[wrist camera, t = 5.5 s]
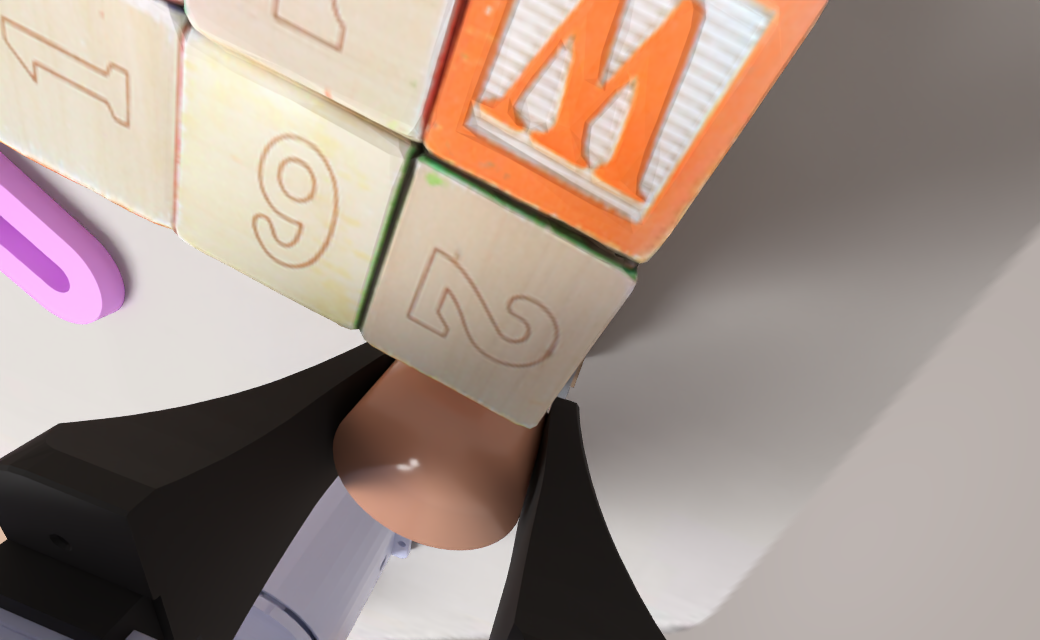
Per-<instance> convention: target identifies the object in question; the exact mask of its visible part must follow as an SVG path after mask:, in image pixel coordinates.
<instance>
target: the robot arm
mask: <svg viewBox="0 0 1040 640" xmlns="http://www.w3.org/2000/svg"><path fill="white" fill-rule="evenodd" d="M395 360H396V359H394V358H392V357H391V356H389V355H387V354H385V353H383V352H382V351H380V350H378V349H376V348H375V347H373V346H371V345H370V344H369V343H368V342H366V343H364V344H362V345H360V346H358V347H356V348H354V349H351V350H349V351H347V352H345V353H343V354H340V355H338V356H336V357H334V358H331V359H329V360H327V361H325V362H322V363H320V364H318V365H315V366H313V367H311V368H308V369H305V370H303V371H300V372H298V373H295V374H293V375H290V376H287V377H285V378H282V379H280V380H277V381H274V382H271V383H268V384H265V385H262V386H259V387H256V388H253V389H249V390H246V391H243V392H239V393H236V394H232V395H229V396H225V397H220V398H216V399H212V400H208V401H204V402H199V403H195V404H191V405H187V406H182V407H177V408H171V409H166V410H161V411H155V412H149V413H142V414H136V415H129V416H122V417H114V418H106V419H97V420H88V421H79V422H70V423H59V424H57V425H56V426H54V427H52V428H51V429H49V430H47V431H46V432H44V433H42V434H41V435H39V436H37V437H36V438H34V439H32V440H31V441H29V442H27V443H25V444H24V445H22V446H20V447H19V448H17V449H15V450H14V451H12V452H10V453H9V454H7V455H5V456H4V457H2V458H0V527H1V528H2V530H3V532H4V534H5V536H6V537H7V540H6V541H4V542H3V543H2V544H0V640H346V639H347V637H348V635H349V633H350V631H351V629H352V628H353V626H354V624H355V622H356V620H357V618H358V616H359V614H360V612H361V611H362V609H363V607H364V605H365V603H366V601H367V599H368V597H369V595H370V594H371V592H372V590H373V588H374V586H375V584H376V582H377V580H378V578H379V577H380V575H381V573H382V571H383V569H384V567H385V565H386V563H387V562H388V560H389V558H390V556H391V554H392V555H394V556H397V557H399V558H406V557H407V556H408V555H409V553H410V549H411V543H412V540H409V539H407V538H405V537H403V536H401V535H399V534H397V533H395V532H393V531H391V530H390V529H388V528H386V527H385V526H383V525H382V524H380V523H379V522H378V521H376V520H375V519H374V518H372V517H371V516H370V515H369V514H368V513H366V512H365V511H364V510H363V509H362V508H361V507H360V506H359V505H358V504H357V503H356V501H355V500H354V499H353V498H352V496H351V495H350V494H349V492H348V491H347V489H346V488H345V486H344V485H343V483H342V481H341V479H340V477H339V475H338V472H337V470H336V467H335V462H334V458H333V441H334V437H335V433H336V431H337V429H338V427H339V425H340V423H341V422H342V421H343V419H344V418H345V417H346V416H347V415H348V413H349V412H350V411H351V410H352V409H353V408H354V407H355V405H356V404H357V403H358V402H359V401H360V400H361V399H362V397H363V396H364V395H365V394H366V393H367V392H368V391H369V389H370V388H371V387H372V386H373V385H374V384H375V383H376V381H377V380H378V379H379V378H380V377H381V376H382V375H383V373H384V372H385V371H386V370H387V369H388V368H389V367H390V365H391V364H392V363H393V362H394V361H395ZM489 640H666V639H665V637H664V635H663V634H662V632H661V631H660V629H659V628H658V626H657V625H656V623H655V621H654V620H653V618H652V616H651V615H650V613H649V611H648V609H647V607H646V606H645V604H644V602H643V600H642V599H641V597H640V595H639V593H638V592H637V590H636V588H635V586H634V584H633V582H632V580H631V578H630V576H629V574H628V572H627V570H626V568H625V566H624V564H623V562H622V560H621V558H620V556H619V553H618V551H617V549H616V547H615V544H614V542H613V540H612V537H611V535H610V533H609V530H608V528H607V525H606V522H605V520H604V517H603V514H602V512H601V509H600V506H599V503H598V500H597V497H596V494H595V490H594V487H593V484H592V480H591V476H590V473H589V469H588V464H587V460H586V455H585V451H584V446H583V440H582V434H581V427H580V416H579V406H578V405H577V403H575V402H572V401H569V400H566V399H563V398H560V397H556V398H555V400H554V401H553V402H552V405H551V408H550V411H549V414H548V417H547V421H546V424H545V428H544V431H543V435H542V438H541V442H540V446H539V450H538V454H537V458H536V462H535V465H534V469H533V472H532V476H531V479H530V482H529V486H528V489H527V493H526V496H525V500H524V503H523V507H522V510H521V514H520V517H519V522H518V527H517V532H516V537H515V542H514V548H513V553H512V558H511V563H510V567H509V571H508V575H507V579H506V583H505V586H504V590H503V593H502V597H501V600H500V604H499V607H498V611H497V614H496V618H495V621H494V625H493V628H492V631H491V635H490V638H489Z"/></svg>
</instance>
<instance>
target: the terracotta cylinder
mask: <svg viewBox="0 0 1040 640" xmlns="http://www.w3.org/2000/svg"><path fill="white" fill-rule="evenodd" d="M551 405H552V404H551ZM551 405H550V407H549V408H548V410H547V411H546V413H545V414H544V416H543V417H542V418H541V420H540V421H539V423H538V424H537V426H535V427H533V428H531V429H529V428H525V427H522V426H519V425H516V424H514V423H512V422H510V421H508V420H507V419H505V418H503V417H501V416H499V415H497V414H496V413H494V412H492V411H490V410H488V409H487V408H485V407H483V406H481V405H479V404H477V403H476V402H474V401H472V400H470V399H468V398H466V397H465V396H463V395H461V394H459V393H457V392H455V391H454V390H452V389H450V388H448V387H446V386H444V385H443V384H441V383H439V382H437V381H435V380H433V379H432V378H430V377H428V376H426V375H424V374H422V373H420V372H419V371H417V370H415V369H413V368H411V367H409V366H407V365H406V364H404V363H402V362H400V361H398V360H395V361H394V362H393V363H392V364H391V365H390V367H389V368H388V369H387V370H386V371H385V372H384V373H383V375H382V376H381V377H380V378H379V379H378V380H377V381H376V383H375V384H374V385H373V386H372V387H371V388H370V389H369V391H368V392H367V393H366V394H365V395H364V396H363V397H362V399H361V400H360V401H359V402H358V403H357V404H356V405H355V407H354V408H353V409H352V410H351V411H350V412H349V413H348V415H347V416H346V417H345V418H344V419H343V421H342V422H341V423H340V425H339V427H338V429H337V431H336V433H335V437H334V441H333V458H334V462H335V467H336V470H337V472H338V475H339V477H340V479H341V481H342V483H343V485H344V486H345V488H346V489H347V491H348V492H349V494H350V495H351V496H352V498H353V499H354V500H355V501H356V503H357V504H358V505H359V506H360V507H361V508H362V509H363V510H364V511H365V512H366V513H368V514H369V515H370V516H371V517H372V518H374V519H375V520H376V521H378V522H379V523H380V524H382V525H383V526H385V527H386V528H388V529H390V530H391V531H393V532H395V533H397V534H399V535H401V536H403V537H405V538H407V539H409V540H412V541H414V542H417V543H420V544H423V545H426V546H431V547H435V548H440V549H447V550H472V549H478V548H482V547H485V546H489V545H491V544H493V543H495V542H498V541H499V540H501V539H502V538H504V537H505V536H506V535H507V534H508V533H509V532H510V531H511V530H512V529H513V528H514V526H515V525H516V523H517V521H518V519H519V517H520V514H521V510H522V507H523V503H524V500H525V496H526V493H527V489H528V486H529V482H530V479H531V476H532V472H533V469H534V465H535V462H536V458H537V454H538V450H539V446H540V442H541V438H542V435H543V431H544V428H545V424H546V421H547V417H548V414H549V411H550V408H551Z"/></svg>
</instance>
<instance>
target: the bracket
mask: <svg viewBox="0 0 1040 640" xmlns="http://www.w3.org/2000/svg"><path fill="white" fill-rule="evenodd" d="M0 271H2V272H3V273H4V274H5V275H6V276H7V277H9V278H10V279H11V280H12V281H13V282H15V283H16V284H17V285H18V286H19V287H20V288H22V289H23V290H24V291H25V292H26V293H27V294H29V295H30V296H31V297H32V298H33V299H35V300H36V301H37V302H38V303H39V304H40V305H42V306H43V307H44V308H45V309H47V310H48V311H50V312H51V313H53V314H54V315H56V316H58V317H60V318H62V319H64V320H66V321H69V322H72V323H76V324H88V323H91V322H94V321H96V320H98V319H100V318H102V317H105V316H107V315H109V314H111V313H113V312H116V311H117V310H119V308H120V307H121V306H122V304H123V302H124V298H125V288H124V283H123V279H122V276H121V274H120V271H119V269H118V267H117V265H116V264H115V262H114V260H113V259H112V257H111V256H110V254H109V253H108V252H107V250H106V249H105V248H104V247H103V246H102V244H101V243H100V242H99V241H98V240H97V239H96V238H95V237H94V236H92V235H91V234H90V233H89V232H88V231H87V230H86V229H85V228H84V227H83V226H81V225H80V224H79V223H78V222H77V221H76V220H75V219H74V218H73V217H72V216H70V215H69V214H68V213H67V212H66V211H65V210H64V209H63V208H62V207H61V206H59V205H58V204H57V203H56V202H55V201H54V200H53V199H52V198H51V197H50V196H49V195H47V194H46V193H45V192H44V191H43V190H42V189H41V188H40V187H39V186H38V185H36V184H35V183H34V182H33V181H32V180H31V179H30V178H29V177H28V176H27V175H25V174H24V173H23V172H22V171H21V170H20V169H19V168H18V167H17V166H16V165H14V164H13V163H12V162H11V161H10V160H9V159H8V158H7V157H6V156H5V155H3V154H2V153H1V152H0Z"/></svg>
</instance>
